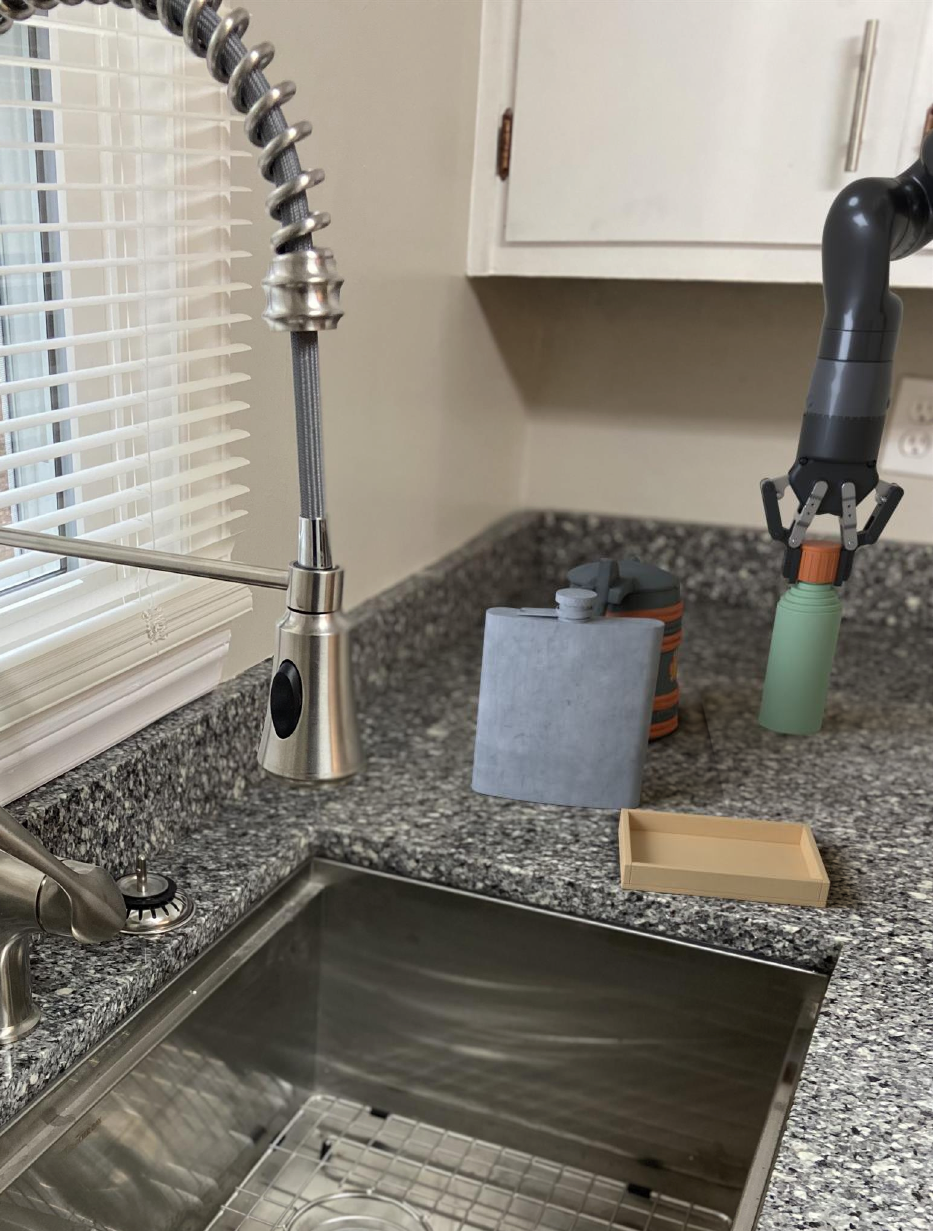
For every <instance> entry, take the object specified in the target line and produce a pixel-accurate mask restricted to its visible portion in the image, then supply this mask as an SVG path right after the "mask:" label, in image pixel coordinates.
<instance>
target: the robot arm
mask: <svg viewBox="0 0 933 1231" xmlns="http://www.w3.org/2000/svg"><path fill="white" fill-rule="evenodd" d="M821 235H822V236H821V274H822V275H821V276H822V277H821V278H822V294H823V302H824V303H823V304H824V314H823V318H822V323H821V329H820V333H819V334H820V335H819V341H818V345H817V352H816V357H815V361H814V364H813V368H812V371H811V375H810V378H809V382H808V386H807V393H806V398H805V402H804V410H803V415H802V421H801V426H800V433H799V438H798V444H797V449H796V456H795V459H794V462H793V464H792V466H791V467H790V469H789V470H788V471H787V474H784V475H781V476H777V477H774V478H769V477H764V478H762V479H761V480H760V482H759V489H760V494H761V499H762V504H763V505H762V506H763V510H764V515H765V520H766V521H765V522H766V525H767V531H768V534H769V535H770V537H771V539H772V540H774V541H775V542H777V541H778V542H780V543H783V544H784V551H783V557H782V562H781V567H780V571H781V575H782V577H783V579H785V581H786V583H787V584H788V585H793V584H796V583H797V580H798V579H797V574H798V569H799V563H800V558H801V552H802V548H801V547H800V544H801V542H802V541H803V539H804V537H805V535H806V533H807V531H808V528H809V527H811V524H812V522H813V519H814V518H815V516H822V515H823V516H824V515H832V516H834V517H837V518H838V523H839V534H840V535H839V536H840V544H841V545H842V547H841V552H840V557H839V562H838V568H837V573H836V579H835V581H833V582H831V583H832V584H831V585H832V587H841V588H842V586H843V582H848V580H849V579H850V577H851V574H852V568H853V563H854V559H855V554H856V552H857V550H858V549H859V548H861V547H863V546H867V545H869V546H872V545H875V544H876V543H877V542H878V540H879V539H880V537H881V534H882V533H883V531H884V529H885V528H886V526H887V524H888V523H889V521H890V519H891V517H892V516H893V514H894V512H895V511H896V509H897V507H898V505H899V504H900V502H901V500H902V499H903V497H904V495H905V490H904V488H903V487H901V486H900V484H898V483H896V482H888V481H885V480H883V479H881V478H880V474H879V472H878V469H877V467H878V466H877V463H878V459H879V453H880V448H881V443H882V438H883V433H884V429H885V423H886V419H887V413H888V409H890V405H891V393H892V387H893V381H894V380H893V379H894V378H893V377H894V364H895V358H896V353H897V349H898V343H899V338H900V333H901V329H902V322H903V316H904V303H903V300H902V298H901V297H900V296H899V295H898V294H896V293H894V292H892V291H891V289H890V276H891V275H890V274H891V273H890V272H891V262H897V261H900V260H902V259H905V258H908V257H909V256H912V255H914V254H915V253H916V252H918V251H920V250H921V249H923V248H924V247H926V246H927V245H928V244H930V243H931V242H932V241H933V127H932V128H931V129H930V130H929V131H928V133H927V134H926V136H925V137H924V139H923V141H922V144H921V147H920V156H919V158H917V159H916V160H915V161H914V162H913V163H912V164H911V165H910V166H909V167H908V168H906V169H905V170H904V171H903V172H901V173H900V174H898V175H896V176H895V177H889V176H888V177H887V176H886V177H885V176H866V177H862V178H858V179H855V180H853V181H852V182H850V183H848V184H847V185H846V186H845V187H844V188H842V189H841V190H840V191H839V192H838V194H837V195H836V196H835V198H834V200H833V201H832V203H831V205H830V207H829V210H828V212H827V214H826V218H825V220H824V224H823V229H822V234H821ZM789 486H790V488H791V490H792V492H793V493H794V496H795V497H796V499H797V500H798V505H797V506H796V509H795V511H794V513H793V517H792V520H791V522H790V525H789V527H788V528H787V527H784V526H783V520H782V516H781V510H780V506H779V505H780V504H779V501H780V500H782V499H783V498H784V496H785V491H786V489H787V487H789ZM874 490H875V495H874V501H875V502H876V505H875V507H874V508H873V510H872V512H871V514H870V515H869V518H868V520H867V521H866V523H865V524H864V526H863V528H862V530H858V529H857V526H858V520H857V508H858V506H859V505H860V504H861V503H862V502H863V501H864V500H865V499H866V498H867V497H868V496H869V495H870V494H871V493H872V491H874Z"/></svg>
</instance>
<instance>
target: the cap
mask: <svg viewBox="0 0 933 1231" xmlns="http://www.w3.org/2000/svg"><path fill="white" fill-rule="evenodd" d="M800 547H801V548H802V552H801V558H800V563H799V569H798V574H797V580H801V581H805V582H812V583H829V582H831V583H832V582H833V581H835V579H836V573H837V568H838V562H839V557H840V552H841V547H842V545H841V543H839V542H836V541H832V540H826V539H825V540H823V539H806V540H802V541H801V544H800Z"/></svg>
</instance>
